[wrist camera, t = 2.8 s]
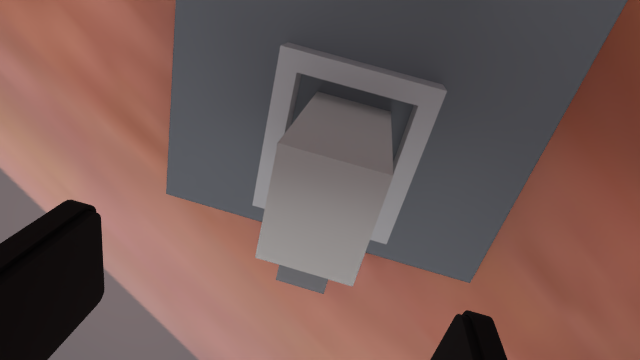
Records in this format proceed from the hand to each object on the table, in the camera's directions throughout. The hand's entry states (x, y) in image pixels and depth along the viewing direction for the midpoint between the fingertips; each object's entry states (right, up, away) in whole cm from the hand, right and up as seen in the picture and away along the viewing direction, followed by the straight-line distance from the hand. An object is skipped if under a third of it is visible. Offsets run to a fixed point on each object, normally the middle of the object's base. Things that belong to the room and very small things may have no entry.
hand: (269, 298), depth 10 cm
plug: (+3, +5, +11) cm, 12 cm away
